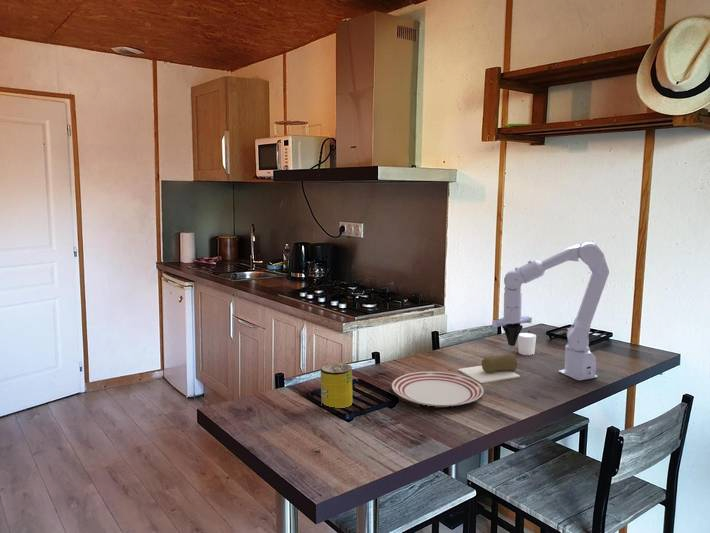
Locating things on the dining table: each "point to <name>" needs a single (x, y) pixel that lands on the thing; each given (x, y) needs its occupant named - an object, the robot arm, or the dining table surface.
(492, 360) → the olive waisted cylinder
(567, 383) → the dining table surface
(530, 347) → the white short cylinder
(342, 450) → the dining table surface
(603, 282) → the robot arm
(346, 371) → the yellow tin can
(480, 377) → the mat
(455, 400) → the dinner plate
